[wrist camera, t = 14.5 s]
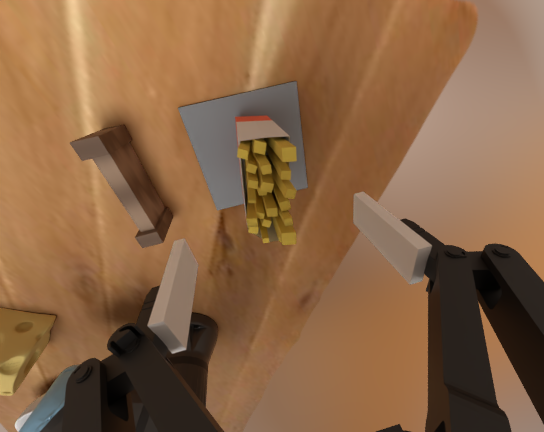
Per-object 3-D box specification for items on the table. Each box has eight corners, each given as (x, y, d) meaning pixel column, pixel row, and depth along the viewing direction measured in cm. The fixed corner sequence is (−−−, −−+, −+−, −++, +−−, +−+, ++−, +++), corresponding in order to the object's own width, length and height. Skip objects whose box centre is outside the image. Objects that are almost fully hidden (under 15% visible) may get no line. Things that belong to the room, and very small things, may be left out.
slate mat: (306, 186, 38) (307, 187, 38) (217, 208, 38) (217, 210, 37) (295, 81, 30) (296, 81, 29) (178, 107, 29) (177, 108, 28)
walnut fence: (173, 217, 37) (163, 242, 31) (155, 221, 37) (142, 248, 31) (124, 124, 29) (98, 136, 23) (101, 129, 29) (69, 142, 23)
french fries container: (239, 187, 36) (248, 265, 21) (231, 114, 30) (236, 150, 15) (267, 184, 36) (295, 259, 21) (264, 113, 31) (301, 145, 15)
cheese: (58, 314, 44) (19, 369, 36) (50, 343, 48) (13, 399, 40) (-12, 303, 40) (-76, 362, 32) (-15, 336, 44) (-71, 397, 36)
